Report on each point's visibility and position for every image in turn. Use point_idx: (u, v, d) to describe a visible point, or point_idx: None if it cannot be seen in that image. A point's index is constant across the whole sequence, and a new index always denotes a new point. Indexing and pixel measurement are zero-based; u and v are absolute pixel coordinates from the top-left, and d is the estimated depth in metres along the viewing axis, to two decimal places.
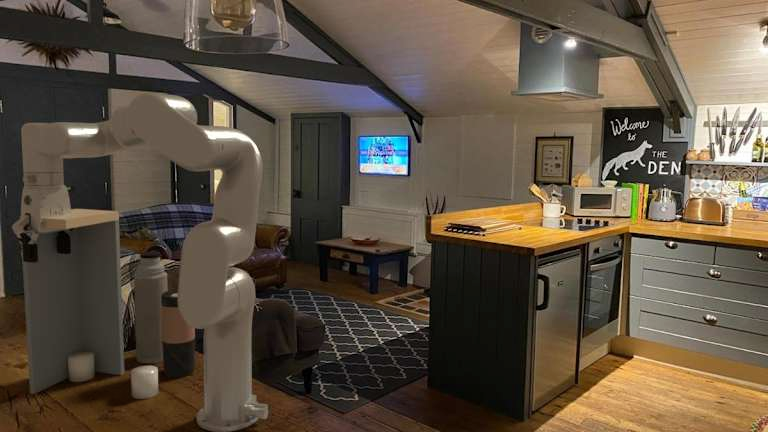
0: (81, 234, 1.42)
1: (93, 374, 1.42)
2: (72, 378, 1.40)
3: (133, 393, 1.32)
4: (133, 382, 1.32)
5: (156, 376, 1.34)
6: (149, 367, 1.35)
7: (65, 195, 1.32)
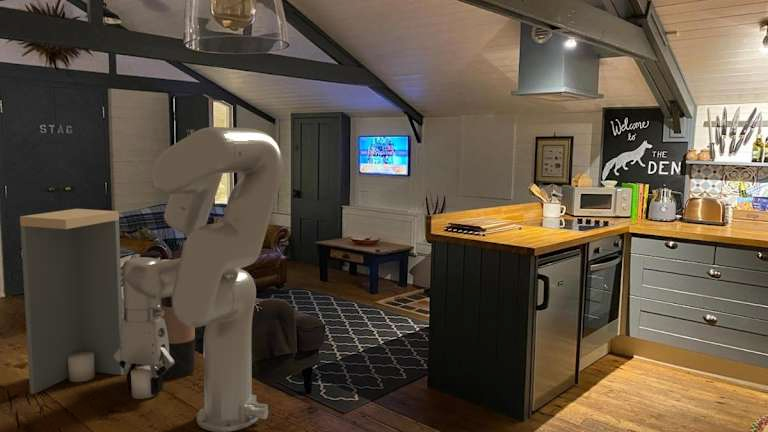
0: (81, 234, 1.42)
1: (93, 374, 1.42)
2: (72, 378, 1.40)
3: (133, 393, 1.32)
4: (133, 382, 1.32)
5: None
6: (149, 367, 1.35)
7: None
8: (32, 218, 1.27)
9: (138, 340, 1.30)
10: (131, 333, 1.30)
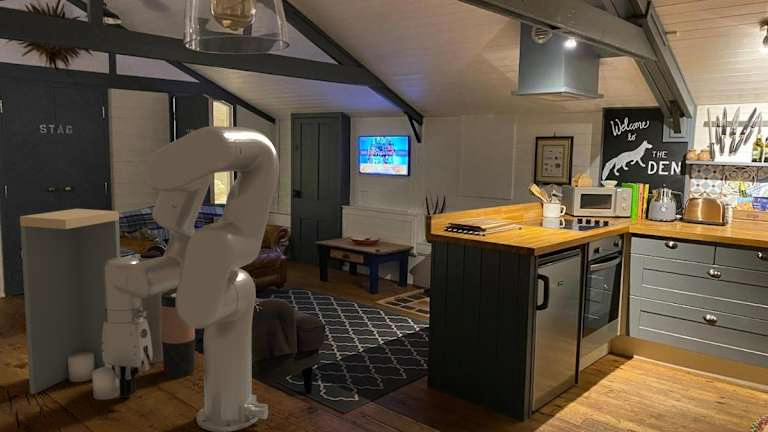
0: (81, 234, 1.42)
1: None
2: (72, 378, 1.40)
3: (94, 394, 1.31)
4: (94, 383, 1.31)
5: None
6: None
7: None
8: (32, 218, 1.27)
9: (120, 341, 1.28)
10: (113, 334, 1.28)
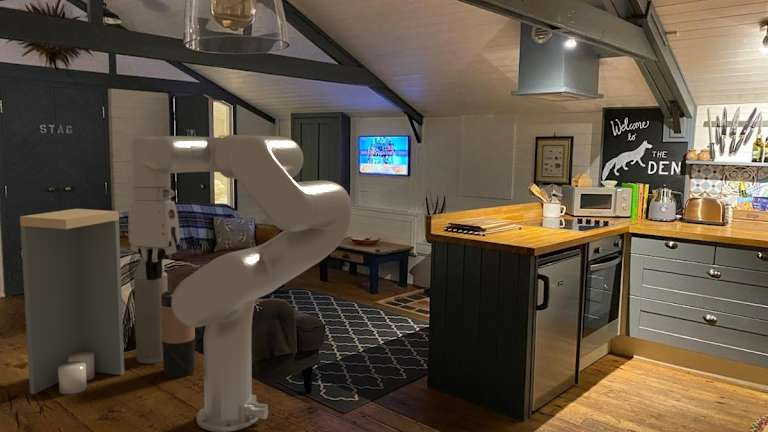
0: (81, 234, 1.42)
1: (93, 374, 1.42)
2: None
3: (60, 389, 1.33)
4: (60, 378, 1.33)
5: (84, 371, 1.35)
6: (77, 363, 1.37)
7: None
8: (32, 218, 1.27)
9: (147, 221, 1.25)
10: (140, 214, 1.25)
